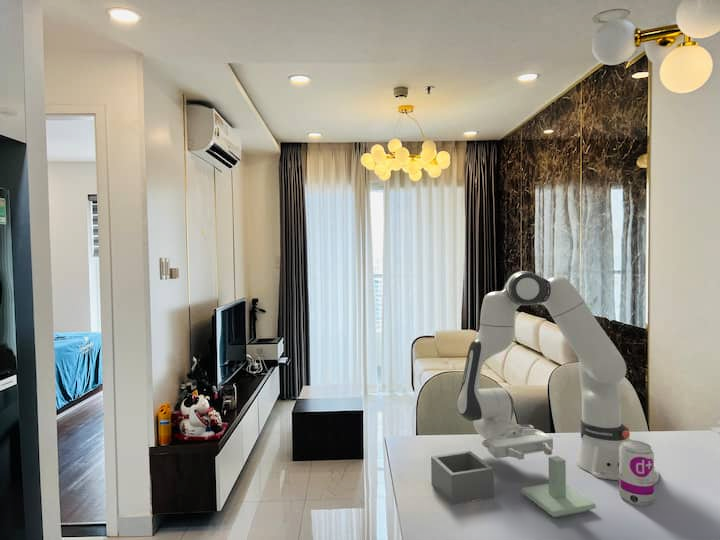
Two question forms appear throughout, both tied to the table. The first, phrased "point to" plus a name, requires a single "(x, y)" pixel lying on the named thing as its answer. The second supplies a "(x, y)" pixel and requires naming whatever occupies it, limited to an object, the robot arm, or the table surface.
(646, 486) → the supplement can
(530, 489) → the lid
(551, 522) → the table surface
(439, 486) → the tub
